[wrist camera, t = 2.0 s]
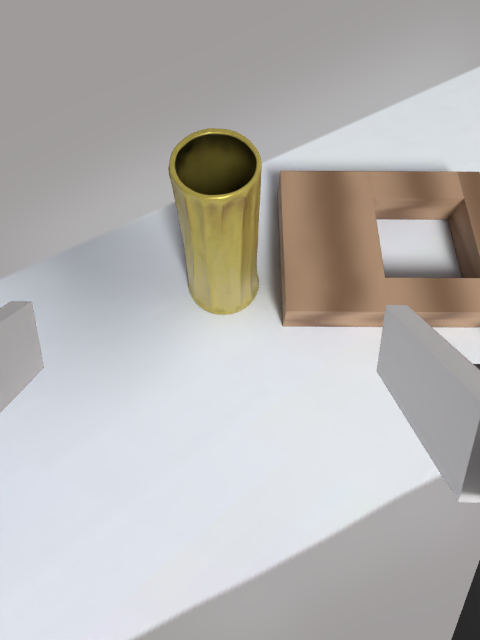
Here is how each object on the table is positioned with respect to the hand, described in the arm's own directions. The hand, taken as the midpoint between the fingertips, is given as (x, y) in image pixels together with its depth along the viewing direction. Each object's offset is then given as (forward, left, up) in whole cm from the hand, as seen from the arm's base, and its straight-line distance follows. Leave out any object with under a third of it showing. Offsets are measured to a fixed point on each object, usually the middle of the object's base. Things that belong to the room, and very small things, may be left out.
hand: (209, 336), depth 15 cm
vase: (0, +12, -18) cm, 21 cm away
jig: (+14, +15, -17) cm, 27 cm away
